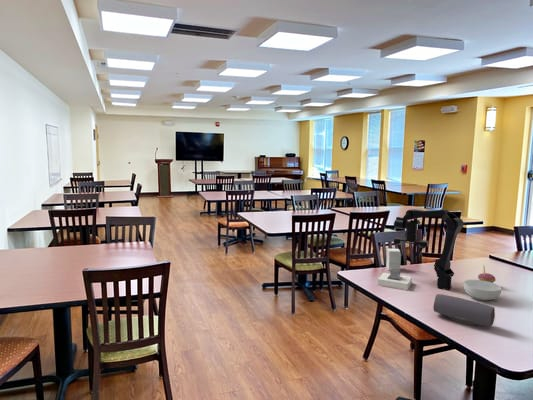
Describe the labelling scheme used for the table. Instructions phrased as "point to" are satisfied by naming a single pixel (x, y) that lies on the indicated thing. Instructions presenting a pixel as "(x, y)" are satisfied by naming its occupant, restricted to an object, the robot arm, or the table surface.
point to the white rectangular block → (393, 259)
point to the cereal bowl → (482, 289)
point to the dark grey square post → (395, 274)
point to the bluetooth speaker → (464, 310)
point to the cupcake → (486, 276)
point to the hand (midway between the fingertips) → (410, 256)
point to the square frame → (395, 281)
